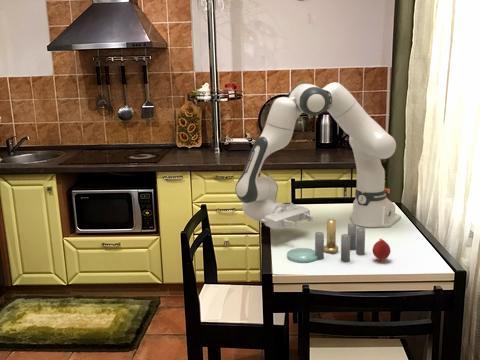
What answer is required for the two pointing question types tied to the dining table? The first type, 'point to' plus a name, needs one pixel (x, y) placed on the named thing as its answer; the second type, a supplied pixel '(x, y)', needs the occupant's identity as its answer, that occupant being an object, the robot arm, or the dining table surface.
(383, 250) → the pomegranate
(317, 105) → the robot arm
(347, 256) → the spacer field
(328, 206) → the dining table surface
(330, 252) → the bolt
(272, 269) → the dining table surface
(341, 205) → the dining table surface
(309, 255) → the saucer
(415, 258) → the dining table surface
